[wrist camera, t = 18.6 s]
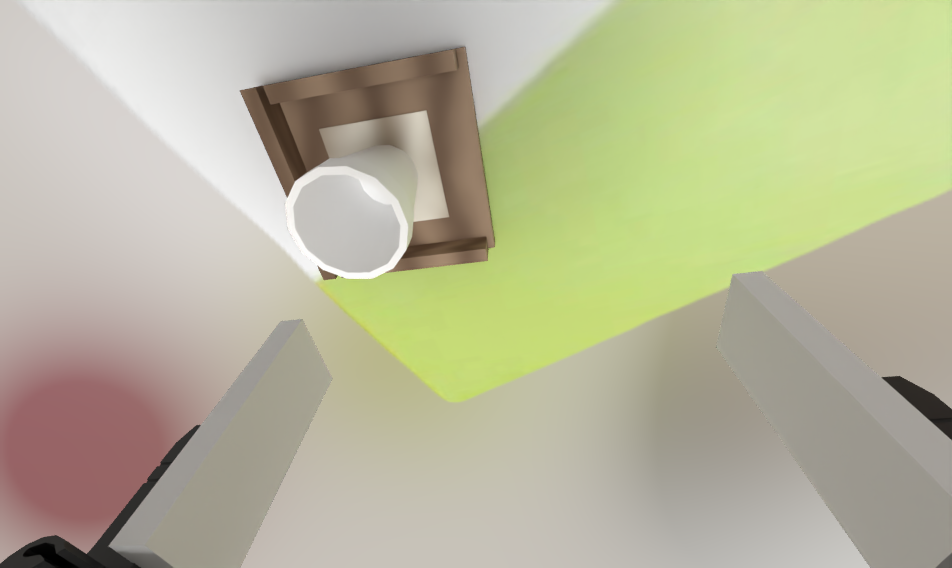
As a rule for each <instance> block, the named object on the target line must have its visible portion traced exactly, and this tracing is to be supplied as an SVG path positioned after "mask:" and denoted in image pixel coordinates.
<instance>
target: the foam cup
mask: <svg viewBox="0 0 952 568" xmlns="http://www.w3.org/2000/svg"><path fill="white" fill-rule="evenodd" d="M417 183H418V173H417V170H416V167H415V164H414V162H413V160H412V159H411V158H410V157H409V156H408V155H407V154H406V153H405V152H404V151H403V150H401V149H398V148H396V147H394V146H391V145H377V146H373V147H370V148H367V149H364V150H361V151H358V152H355V153H352V154H350V155H347V156H344V157H341V158H329V159H328V160H326V161H325V162H323V163H321V164H320V165H318V166H317V167H315V168H313V169H312V170H310V171H309V172H307V173H306V174H304V175H303V176H302V177H300V178H299V179H297V180H296V181H295V183H294V185H293V187H292V189H291V191H290V194H289V196H288V198H287V200H286V202H285V208H286V218H287V228H288V230H289V232H290V234H291V236H292V237H293V239H294V241H295V242H296V244H297V246H298V247H299V249H300V251H301V252H302V253H303V254H304V255H305V256H306V257H308V258H309V259H310V260H311V261H313V262H314V263H315V264H316V265H317V266H319V267H320V268H321V269H322V270H325V271H328V272H330V273H333V274H336V275H339V276H341V277H344V278H347V279H369V278H375V277H377V276H379V275H381V274H383V273H385V272H387V271H389V270H391V269H393V268H394V267H395V265H396V264H397V263H398V261H399V260H400V258H401V257H402V256H403V254H404V253H405V251H406V250H407V247H408V245H409V243H410V240H411V238H412V231H413V221H414V205H415V199H416V192H417Z"/></svg>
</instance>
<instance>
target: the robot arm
mask: <svg viewBox="0 0 952 568" xmlns="http://www.w3.org/2000/svg"><path fill="white" fill-rule="evenodd" d="M716 348H717V349H718V350H719V352H720V353H721V355H722V356H723V358H724V359H725V361H726V362H727V363H728V365H729V366H730V368H731V369H732V370H733V372H734V373H735V375H736V376H737V378H738V379H739V380H740V382H741V383H742V385H743V386H744V388H745V389H746V391H747V392H748V393H749V395H750V396H751V398H752V399H753V400H754V402H755V403H756V405H757V406H758V408H759V409H760V411H761V412H762V413H763V415H764V416H765V418H766V419H767V420H768V422H769V423H770V425H771V426H772V428H773V429H774V431H775V432H776V433H777V435H778V436H779V438H780V439H781V440H782V442H783V443H784V445H785V446H786V448H787V449H788V451H789V452H790V453H791V455H792V456H793V458H794V459H795V461H796V462H797V463H798V465H799V466H800V468H801V469H802V470H803V472H804V473H805V475H806V476H807V478H808V479H809V481H810V482H811V483H812V485H813V486H814V488H815V489H816V491H817V492H818V494H819V495H820V496H821V498H822V499H823V500H824V502H825V503H826V505H827V506H828V508H829V509H830V511H831V512H832V513H833V515H834V516H835V518H836V519H837V521H838V522H839V524H840V525H841V526H842V528H843V529H844V530H845V532H846V533H847V535H848V536H849V538H850V539H851V541H852V542H853V543H854V545H855V546H856V548H857V549H858V551H859V552H860V554H861V555H862V556H863V558H864V559H865V561H866V562H867V564H868V565H869V566H870V568H952V409H951V408H950V407H948V406H947V405H946V404H945V403H944V402H942V401H941V400H940V399H939V398H937V397H936V396H935V395H934V394H932V393H930V392H928V391H926V390H925V389H923V388H921V387H919V386H917V385H915V384H913V383H912V382H910V381H908V380H906V379H904V378H902V377H900V376H895V377H880V376H879V375H878V374H877V373H876V372H875V371H873V370H872V369H871V368H870V367H869V366H868V365H866V364H865V363H864V362H863V361H862V360H861V359H860V358H859V357H858V356H856V355H855V354H854V353H853V352H852V351H851V350H850V349H849V348H848V347H847V346H845V345H844V344H843V343H842V342H841V341H840V340H839V339H837V338H836V337H835V336H834V335H833V334H832V333H831V332H829V330H827V329H826V328H825V327H824V326H823V325H822V324H821V323H819V322H818V321H817V320H816V319H815V318H814V317H813V316H812V315H810V313H808V312H807V311H806V310H805V309H804V308H803V307H802V306H800V305H799V304H798V303H797V302H796V301H795V300H794V299H792V297H790V296H789V295H788V294H787V293H786V292H785V291H784V290H783V289H781V288H780V287H779V286H778V285H777V284H776V283H774V281H772V280H771V279H770V278H769V277H768V276H767V275H766V274H765V273H764V272H762V271H758V272H748V273H739V274H733V275H732V279H731V283H730V288H729V292H728V297H727V301H726V305H725V310H724V314H723V318H722V323H721V328H720V332H719V336H718V341H717V345H716ZM331 381H332V376H331V374H330V372H329V370H328V368H327V367H326V365H325V363H324V361H323V359H322V357H321V355H320V353H319V351H318V349H317V347H316V345H315V343H314V341H313V339H312V337H311V336H310V333H309V331H308V329H307V328H306V325H305V323H304V321H303V320H302V319H298V320H289V321H281V322H280V323H279V324H278V326H277V327H276V328H275V329H274V331H273V332H272V333H271V335H270V336H269V337H268V339H267V340H266V341H265V343H264V344H263V345H262V346H261V348H260V349H259V350H258V352H257V353H256V354H255V356H254V357H253V358H252V360H251V361H250V362H249V363H248V365H247V366H246V367H245V369H244V370H243V371H242V372H241V374H240V375H239V376H238V378H237V379H236V380H235V382H234V383H233V385H232V386H231V387H230V388H229V389H228V391H227V392H226V393H225V395H224V396H223V397H222V399H221V400H220V401H219V402H218V404H217V405H216V406H215V408H214V409H213V410H212V412H211V413H210V414H209V416H208V417H207V418H206V420H205V421H204V422H203V423H202V425H196V426H195V427H194V428H193V429H192V430H190V431H189V432H188V433H187V434H186V435H185V436H184V437H182V438H181V439H180V440H179V441H178V442H176V444H175V445H174V446H173V448H172V449H171V450H170V451H169V452H168V454H167V455H166V456H165V457H164V459H163V460H162V461H161V465H160V466H158V467H156V469H155V470H154V471H153V472H152V474H151V475H150V476H149V477H148V479H147V480H148V481H147V483H144V484H143V485H142V486H141V488H140V489H139V490H138V491H137V493H136V494H135V495H134V496H133V498H132V499H131V500H130V501H129V503H128V504H127V505H126V507H125V508H124V509H123V510H122V511H121V513H120V514H119V515H118V516H117V518H116V519H115V520H114V522H113V523H112V524H111V525H110V527H109V528H108V529H107V530H106V532H105V533H104V534H103V535H102V537H101V538H100V539H99V540H98V542H97V543H96V544H95V545H94V547H93V548H92V549H91V550H90V551H89V552H88V553H87V554H85V553H84V552H82V551H81V550H79V549H78V548H76V547H75V546H73V545H72V544H70V543H69V542H67V541H65V540H64V539H62V538H60V537H59V536H56V535H55V536H48V537H43V538H40V539H38V540H36V541H34V542H32V543H29V544H28V545H25V546H24V547H23V548H21V549H19V550H18V551H16V552H15V553H13V554H12V555H10V556H9V557H8V558H7V559H5V560H4V561H3V562H2V563H1V564H0V568H240V567H241V565H242V563H243V561H244V559H245V557H246V555H247V553H248V551H249V549H250V547H251V545H252V543H253V541H254V538H255V536H256V534H257V532H258V530H259V528H260V526H261V524H262V522H263V520H264V518H265V516H266V514H267V511H268V510H269V507H270V506H271V504H272V502H273V500H274V497H275V495H276V493H277V491H278V489H279V487H280V485H281V483H282V481H283V479H284V477H285V475H286V473H287V471H288V469H289V467H290V465H291V463H292V460H293V458H294V456H295V454H296V452H297V450H298V448H299V446H300V444H301V442H302V440H303V438H304V436H305V434H306V432H307V430H308V428H309V425H310V423H311V422H312V419H313V417H314V415H315V413H316V411H317V409H318V407H319V405H320V403H321V401H322V399H323V396H324V395H325V393H326V391H327V389H328V387H329V385H330V383H331Z"/></svg>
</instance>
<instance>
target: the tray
mask: <svg viewBox="0 0 952 568" xmlns="http://www.w3.org/2000/svg"><path fill="white" fill-rule="evenodd" d="M240 92H241V95H242V97H243V99H244V101H245V104H246V106H247V108H248V110H249V113H250V115H251V117H252V119H253V122H254V124H255V126H256V128H257V131H258V133H259V135H260V137H261V140H262V142H263V144H264V146H265V149H266V151H267V153H268V155H269V158H270V160H271V162H272V164H273V167H274V169H275V171H276V174H277V176H278V178H279V180H280V183H281V185H282V187H283V189H284V192H285V194H286V196H287V198H288V196H289V194H290V191H291V189H292V187H293V185H294V183H295V181H296V180H297V179H299V178H300V177H302V176H303V175H304V174H306V173H307V172H309V171H310V170H312V169H313V168H315V167H317V166H318V165H320V164H321V163H323V162H325V161H326V160H328V159H329V158H341V157H344V156H347V155H350V154H352V153H355V152H358V151H361V150H364V149H367V148H370V147H373V146H377V145H391V146H394V147H396V148H398V149H401V150H403V151H404V152H405V153H406V154H407V155H408V156H409V157H410V158H411V159H412V160H413V162H414V164H415V167H416V170H417V173H418V183H417V192H416V199H415V205H414V221H413V231H412V238H411V240H410V243H409V245H408V247H407V250H406V251H405V253H404V254H403V256H402V257H401V258H400V260H399V261H398V263H397V264H396V265H395V267H394V268H393V269H391V270H389V271H387V272H385V273H388V272H396V271H405V270H413V269H422V268H430V267H439V266H447V265H456V264H464V263H473V262H481V261H488V248H493V247H495V239H494V232H493V226H492V219H491V213H490V206H489V199H488V193H487V186H486V180H485V173H484V166H483V160H482V153H481V147H480V140H479V133H478V127H477V120H476V114H475V107H474V100H473V94H472V87H471V81H470V74H469V68H468V61H467V54H466V48H465V47H461V48H456V49H451V50H446V51H441V52H435V53H430V54H425V55H420V56H415V57H409V58H404V59H399V60H394V61H389V62H383V63H378V64H373V65H368V66H363V67H357V68H352V69H347V70H342V71H337V72H331V73H326V74H321V75H316V76H311V77H306V78H300V79H295V80H290V81H285V82H280V83H274V84H269V85H264V86H259V87H254V88H250V89H245V90H240ZM318 268H319V271H320V273H321V275H322V277H323V280H328V279H336V278H337V276H338V275H336V274H333V273H330V272H328V271H325V270H322V269H321V268H320V267H319V266H318ZM342 278H344V277H342Z"/></svg>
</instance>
